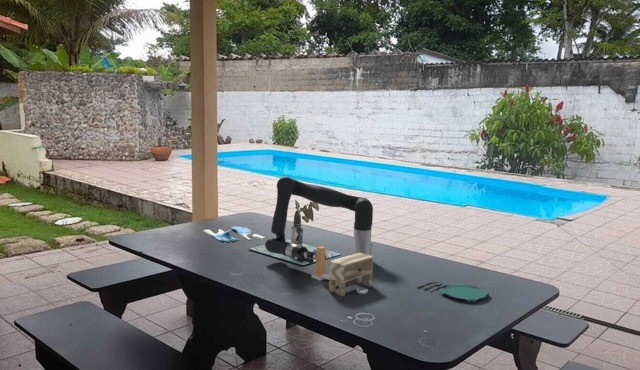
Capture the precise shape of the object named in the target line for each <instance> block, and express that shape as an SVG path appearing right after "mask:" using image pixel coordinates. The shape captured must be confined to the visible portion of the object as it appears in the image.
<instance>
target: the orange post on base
mask: <svg viewBox="0 0 640 370" xmlns="http://www.w3.org/2000/svg"><path fill="white" fill-rule="evenodd" d="M326 249H327V248H326V247H325V246H322V245H319V246H317V247H316V250H317V254H316V259H315V261H316V262H315V263H316V264H315V274H312V275H311V278H312V279H314V280H317V281H319V282H321V281H324V280H328V281H329V274H327V273H326V260H325V255H326ZM345 284H347V282H345ZM335 287H339V282H338V281H335Z"/></svg>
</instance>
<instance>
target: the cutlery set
mask: <svg viewBox="0 0 640 370" xmlns="http://www.w3.org/2000/svg"><path fill="white" fill-rule="evenodd" d="M431 283H432V284H431ZM434 283H435V284H434ZM434 283H433V281H432V282H431V281H427V282H426V283H424V284H421V285H417V286H416V287H417V289H420V288H423V290H427V289H430V288H433V287H435V288H433V289H432V290H431V289H430V290H429V293H432V292H433V291H435V290H439V293H440V295H443V294H444V295H445V296H446V297H448V298H452V299H455V300H460V301H467V302H468V303H475V302H477V301H482V300H484V299H487V298H488V297H489V296H490V293H489V292H488V291H487V290H486V289H484V288H480V287H477V286H472V285H468V284H461V283H460V284H459V283H456V284H455V283H453V284H450V285H447V283H445V284H443V283H442V282H441V281H436V282H435V281H434ZM440 283H441V284H440ZM436 284H439V286H435V285H436ZM442 284H443V285H442ZM425 285H426V287H425ZM427 285H428V286H427ZM422 286H423V287H422ZM443 286H444V287H443ZM441 287H442V288H441ZM438 288H439V289H438Z"/></svg>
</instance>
